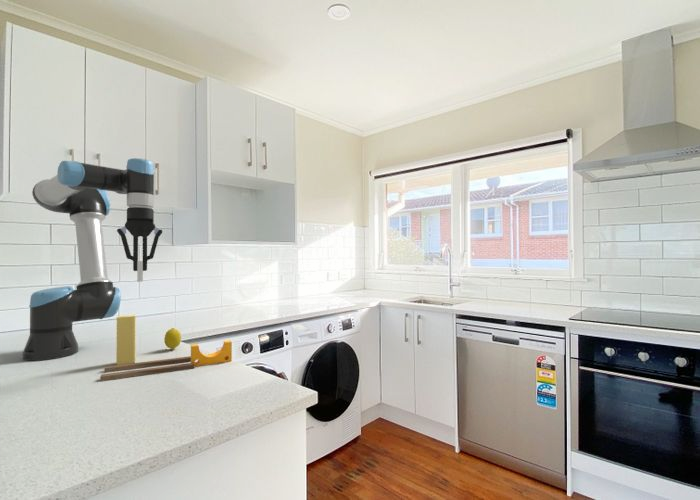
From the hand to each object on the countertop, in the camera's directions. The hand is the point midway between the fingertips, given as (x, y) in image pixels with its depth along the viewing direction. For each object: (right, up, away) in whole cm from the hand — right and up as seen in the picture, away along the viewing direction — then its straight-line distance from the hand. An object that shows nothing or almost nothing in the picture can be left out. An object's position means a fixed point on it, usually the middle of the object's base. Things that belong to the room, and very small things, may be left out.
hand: (140, 281), depth 118 cm
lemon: (+2, -27, +17) cm, 32 cm away
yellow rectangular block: (-5, -27, +1) cm, 27 cm away
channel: (+6, -26, -6) cm, 28 cm away
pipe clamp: (+22, -27, +1) cm, 35 cm away
